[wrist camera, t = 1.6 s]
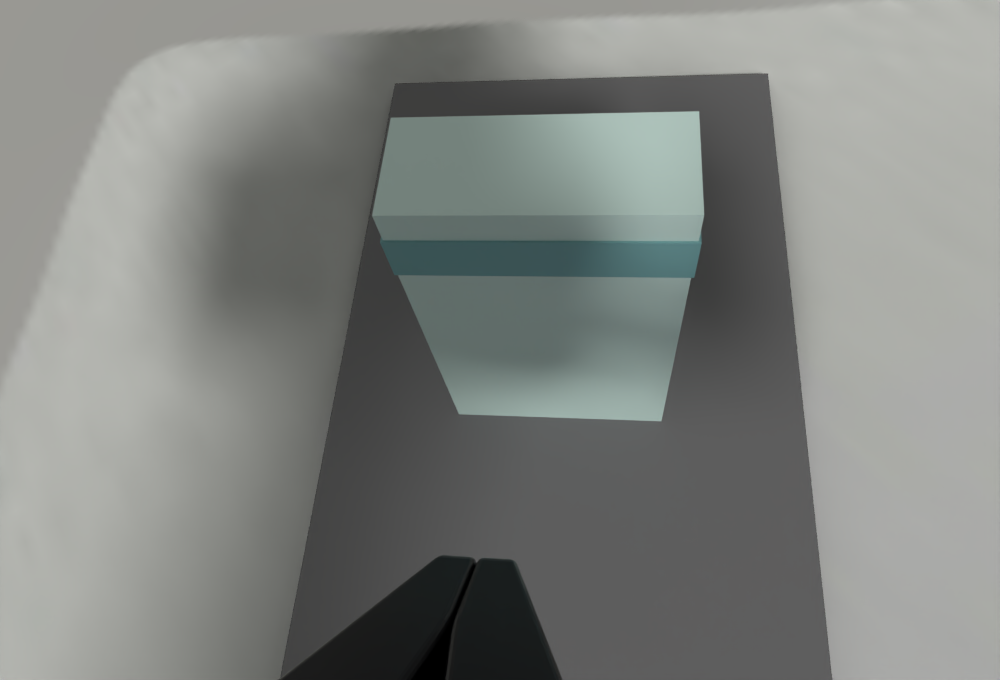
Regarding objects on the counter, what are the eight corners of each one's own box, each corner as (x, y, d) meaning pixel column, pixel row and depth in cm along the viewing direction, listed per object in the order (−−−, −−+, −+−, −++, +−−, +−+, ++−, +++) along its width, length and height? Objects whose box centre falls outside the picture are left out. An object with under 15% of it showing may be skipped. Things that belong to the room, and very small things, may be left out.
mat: (847, 885, 17) (854, 889, 17) (260, 818, 19) (252, 820, 19) (765, 83, 28) (767, 73, 28) (398, 93, 30) (395, 83, 30)
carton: (662, 422, 22) (707, 217, 13) (456, 415, 23) (368, 218, 14) (661, 346, 23) (701, 109, 14) (465, 341, 24) (388, 115, 15)
